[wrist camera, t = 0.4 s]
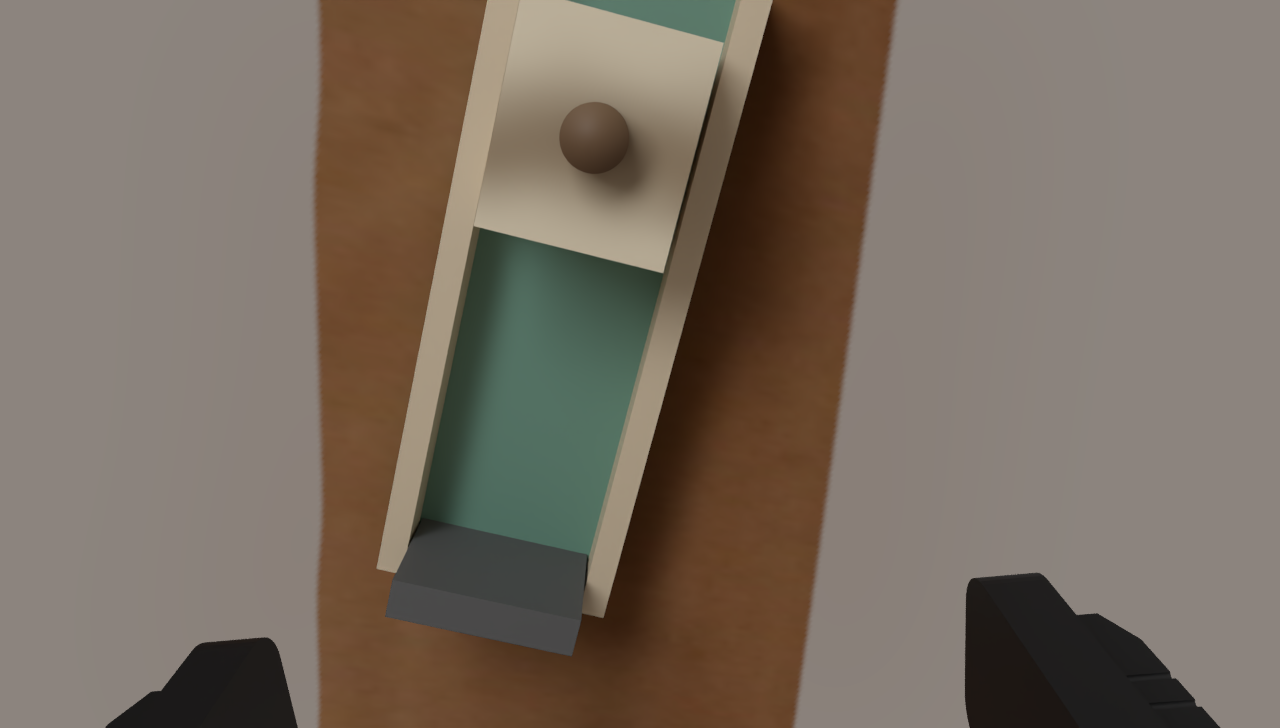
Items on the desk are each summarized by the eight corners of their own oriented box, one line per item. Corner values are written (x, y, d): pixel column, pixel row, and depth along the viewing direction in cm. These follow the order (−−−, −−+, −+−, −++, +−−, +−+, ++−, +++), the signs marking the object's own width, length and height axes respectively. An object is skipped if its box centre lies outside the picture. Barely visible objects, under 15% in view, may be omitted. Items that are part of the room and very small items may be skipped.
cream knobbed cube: (539, 6, 32) (517, -17, 25) (708, 51, 32) (728, 40, 26) (497, 205, 34) (466, 231, 27) (657, 246, 34) (664, 280, 28)
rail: (517, -75, 32) (492, -114, 26) (763, -7, 33) (793, -30, 27) (396, 531, 39) (354, 610, 33) (605, 577, 39) (601, 662, 34)
